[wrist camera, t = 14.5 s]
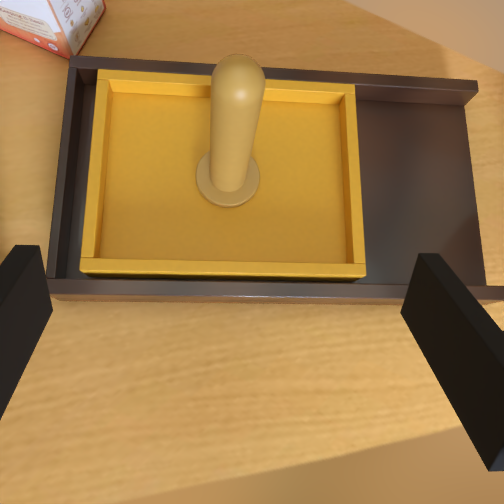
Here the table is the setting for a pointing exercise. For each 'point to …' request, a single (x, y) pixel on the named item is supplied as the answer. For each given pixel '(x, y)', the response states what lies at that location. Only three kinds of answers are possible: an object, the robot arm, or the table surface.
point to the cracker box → (52, 22)
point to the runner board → (372, 191)
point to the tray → (192, 229)
